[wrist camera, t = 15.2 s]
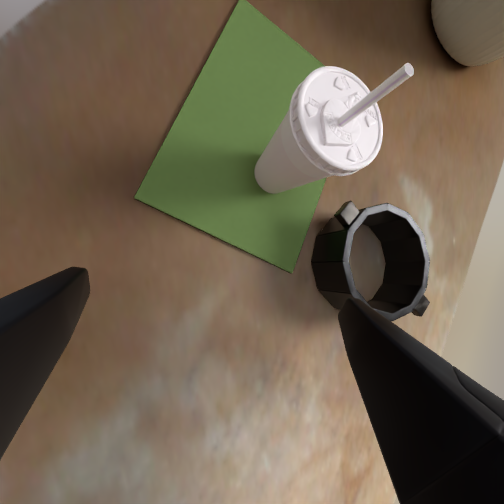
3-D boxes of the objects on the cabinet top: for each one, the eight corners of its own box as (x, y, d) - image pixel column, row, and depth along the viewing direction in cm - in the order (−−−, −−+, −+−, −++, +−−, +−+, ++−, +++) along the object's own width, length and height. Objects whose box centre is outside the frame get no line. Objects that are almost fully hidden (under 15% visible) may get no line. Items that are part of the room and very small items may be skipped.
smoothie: (226, 174, 22) (329, 41, 9) (266, 127, 24) (400, -39, 11) (278, 221, 24) (428, 164, 11) (312, 174, 26) (476, 77, 13)
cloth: (290, 273, 24) (292, 273, 24) (134, 198, 20) (133, 197, 20) (355, 94, 29) (357, 92, 29) (240, -1, 24) (241, -4, 24)
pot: (364, 341, 27) (402, 354, 23) (284, 252, 24) (311, 248, 20) (409, 270, 30) (450, 271, 26) (343, 185, 28) (377, 169, 23)
